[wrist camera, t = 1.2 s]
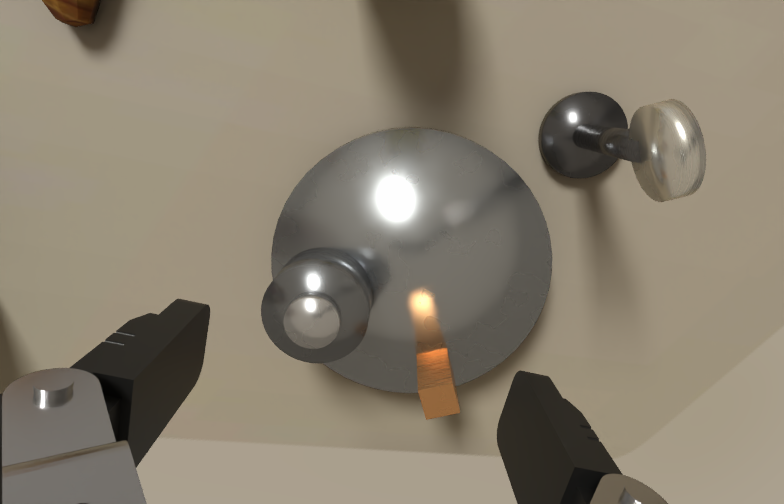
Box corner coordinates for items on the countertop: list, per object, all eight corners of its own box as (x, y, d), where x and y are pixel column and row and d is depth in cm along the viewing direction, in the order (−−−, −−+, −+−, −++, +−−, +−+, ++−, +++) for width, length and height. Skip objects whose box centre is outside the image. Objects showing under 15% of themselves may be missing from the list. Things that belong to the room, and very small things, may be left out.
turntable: (517, 92, 27) (546, 90, 21) (562, 348, 32) (595, 400, 26) (241, 168, 29) (201, 184, 23) (324, 399, 34) (308, 458, 28)
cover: (357, 236, 28) (348, 259, 24) (383, 325, 30) (380, 359, 26) (262, 260, 29) (239, 286, 25) (294, 345, 30) (277, 382, 26)
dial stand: (616, 82, 28) (760, 68, 16) (626, 164, 29) (764, 204, 18) (532, 105, 28) (615, 107, 17) (545, 185, 30) (630, 236, 18)
